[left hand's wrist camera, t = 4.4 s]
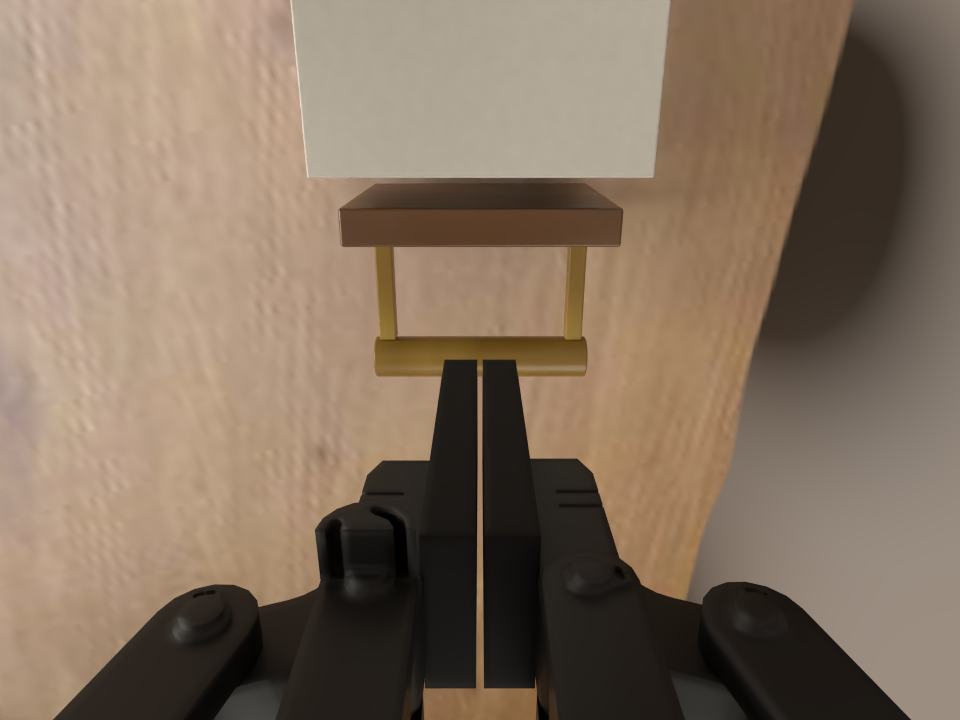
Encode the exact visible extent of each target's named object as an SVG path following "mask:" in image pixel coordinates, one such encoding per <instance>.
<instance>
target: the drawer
mask: <svg viewBox="0 0 960 720" xmlns="http://www.w3.org/2000/svg"><path fill="white" fill-rule="evenodd" d="M338 216H339V228H340V241H341V245H342V246H343V247H374V248H375V265H376V281H377V298H378V314H379V331H380V336H378V337H376V340H375V345H374V368H375V373H376V375H377V376H442V373H443V366H444V360H477V376H483V360H516V366H517V372H518V376H585V373H586V370H587V343H586V339H585V337H583V336H581V335H582V318H583V302H584V285H585V269H586V252H587V247H618V246H620V244H621V233H622V221H623V209H622V208H620V207H619V206H617V205H616V204H614V203H613V202H611V201H610V200H609V199H607V198H606V197H604V196H603V195H601V194H600V193H598V192H597V191H595V190H594V189H592V188H591V187H589V186H588V185H587V184H375V185H373V186H372V187H370V188H369V189H367V190H366V191H364V192H363V193H362V194H360V195H359V196H357V197H356V198H354V199H353V200H351V201H350V202H348V203H347V204H346V205H344V206H343V207H341V208H340V209H339V210H338ZM393 247H568V254H567V275H566V295H565V315H564V336H397V335H398V331H397V311H396V291H395V270H394V250H393Z"/></svg>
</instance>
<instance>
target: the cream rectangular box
mask: <svg viewBox="0 0 960 720" xmlns="http://www.w3.org/2000/svg"><path fill="white" fill-rule="evenodd" d="M290 1H291V11H292V22H293V32H294V43H295V53H296V64H297V74H298V85H299V96H300V106H301V117H302V127H303V138H304V148H305V159H306V169H307V176H308V178H653V177H654V174H655V164H656V153H657V143H658V132H659V122H660V111H661V101H662V90H663V80H664V69H665V59H666V48H667V38H668V27H669V17H670V6H671V0H290Z"/></svg>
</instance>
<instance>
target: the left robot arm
mask: <svg viewBox="0 0 960 720" xmlns="http://www.w3.org/2000/svg"><path fill="white" fill-rule="evenodd" d="M482 464H483V605H484V688H535V676H536V686H537V708H536V720H911V719H910V718H909V717H908V716H907V715H906V714H905V713H904V712H903V711H902V710H901V709H900V708H899V707H898V706H897V705H896V704H895V703H894V702H893V701H892V700H891V699H890V698H889V697H888V696H887V695H886V694H885V693H884V692H883V691H882V690H881V689H880V688H879V686H878V685H877V684H876V683H875V682H874V681H873V680H872V679H871V678H870V677H869V676H868V675H867V674H866V673H865V672H864V671H863V670H862V669H861V668H860V667H859V666H858V665H857V664H856V663H855V662H854V661H853V660H852V659H851V658H850V657H849V656H848V655H847V654H846V653H845V652H844V651H843V650H842V649H841V648H840V646H839V645H838V644H837V643H836V642H835V641H834V640H833V639H832V638H831V637H830V636H829V635H828V634H827V633H826V632H825V631H824V630H823V629H822V628H821V627H820V626H819V625H818V624H817V623H816V622H815V621H814V620H813V619H812V618H811V617H810V616H809V615H808V614H807V613H806V612H805V611H804V610H803V609H802V608H801V607H800V606H799V605H797V604H796V603H795V602H793V601H792V600H791V599H790V598H788V597H787V596H786V595H783V594H781V593H779V592H777V591H775V590H773V589H770V588H768V587H766V586H762V585H757V584H753V583H748V582H726V583H723V584H721V585H718V586H715V587H713V588H711V589H710V591H709V592H708V593H707V594H706V595H705V596H704V598H703V603H702V605H701V604H697V603H692V602H688V601H684V600H680V599H675V598H671V597H668V596H665V595H662V594H659V593H656V592H654V591H652V590H650V589H648V588H646V587H644V586H643V585H641V583H640V580H639V578H638V577H637V575H636V574H635V572H634V570H633V569H632V567H630V566H629V565H628V564H626V563H625V562H624V561H622V560H621V559H620V558H619V555H618V552H617V549H616V546H615V543H614V539H613V536H612V533H611V530H610V527H609V523H608V520H607V517H606V514H605V511H604V507H602V501H601V498H600V495H599V493H598V488H597V485H596V482H595V479H594V476H593V473H592V472H591V471H590V470H589V469H588V468H587V467H586V466H585V465H583V464H582V463H581V462H580V461H579V460H578V459H530V456H529V449H528V442H527V435H526V428H525V421H524V414H523V407H522V400H521V393H520V386H519V379H518V372H517V366H516V360H483V461H482ZM477 465H478V456H477V360H444V366H443V373H442V379H441V386H440V393H439V400H438V407H437V414H436V421H435V428H434V435H433V442H432V449H431V456H430V461H382V462H381V463H380V464H379V465H378V466H377V467H376V468H375V469H373V470H372V471H371V472H370V473H369V474H368V475H367V478H366V481H365V484H364V488H363V491H362V495H361V497H360V501H359V503H353V504H350V505H347V506H344V507H341V508H339V509H336V510H335V511H333V512H332V513H330V514H329V515H327V516H326V517H324V518H323V519H322V521H321V522H320V523H319V525H318V526H317V528H316V529H315V534H316V543H317V552H318V561H319V570H320V579H321V581H320V584H319V587H318V588H317V589H315V590H313V591H311V592H309V593H307V594H305V595H303V596H300V597H297V598H293V599H290V600H287V601H283V602H278V603H274V604H270V605H266V606H261V607H258V603H257V600H256V599H255V597H254V596H253V595H252V594H251V593H250V592H249V590H246V589H243V588H241V587H238V586H235V585H211V586H206V587H202V588H197V589H194V590H191V591H189V592H187V593H185V594H183V595H181V596H179V597H176V598H174V599H173V600H172V601H171V602H169V603H168V604H167V605H165V606H164V607H163V608H162V609H160V610H159V611H158V612H157V613H156V614H155V615H154V616H153V617H152V618H151V619H150V620H149V621H148V622H147V623H146V624H145V625H144V626H143V627H142V628H141V629H140V630H139V632H138V633H137V634H136V635H135V636H134V637H133V638H132V639H131V640H130V641H129V642H128V643H127V644H126V645H125V646H124V647H123V648H122V649H121V650H120V651H119V652H118V653H117V654H116V655H115V656H114V657H113V658H112V659H111V660H110V661H109V662H108V664H107V665H106V666H105V667H104V668H103V669H102V670H101V671H100V672H99V673H98V674H97V675H96V676H95V677H94V678H93V679H92V680H91V681H90V682H89V683H88V684H87V685H86V686H85V687H84V688H83V689H82V690H81V691H80V692H79V693H78V694H77V696H76V697H75V698H74V699H73V700H72V701H71V702H70V703H69V704H68V705H67V706H66V707H65V708H64V709H63V710H62V711H61V712H60V713H59V714H58V715H57V716H56V717H55V718H54V719H53V720H424V708H423V689H424V679H425V688H476V606H477Z"/></svg>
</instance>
